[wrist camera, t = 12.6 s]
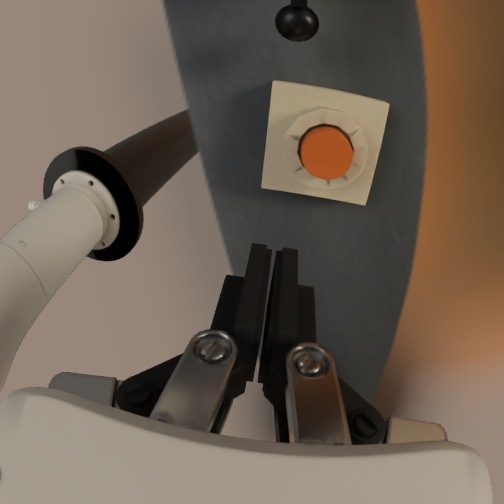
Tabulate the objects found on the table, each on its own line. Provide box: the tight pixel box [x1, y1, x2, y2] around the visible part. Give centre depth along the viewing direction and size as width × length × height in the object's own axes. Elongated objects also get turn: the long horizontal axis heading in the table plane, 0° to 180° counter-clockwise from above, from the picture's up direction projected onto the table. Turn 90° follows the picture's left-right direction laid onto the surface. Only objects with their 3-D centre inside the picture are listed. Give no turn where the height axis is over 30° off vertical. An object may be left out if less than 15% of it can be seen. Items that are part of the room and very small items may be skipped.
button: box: [301, 127, 353, 180], centre depth 22 cm, size 4×4×2 cm
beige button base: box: [261, 80, 389, 206], centre depth 24 cm, size 10×10×4 cm
